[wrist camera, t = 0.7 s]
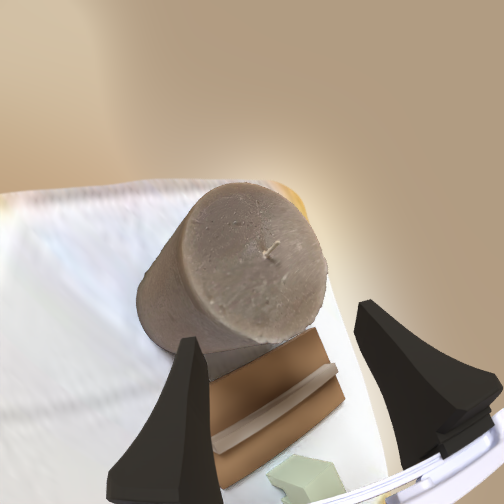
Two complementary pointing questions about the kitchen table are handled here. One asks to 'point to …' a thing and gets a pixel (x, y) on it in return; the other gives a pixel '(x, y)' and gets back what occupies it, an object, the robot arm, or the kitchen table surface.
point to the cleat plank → (270, 405)
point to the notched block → (306, 480)
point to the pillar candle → (234, 273)
